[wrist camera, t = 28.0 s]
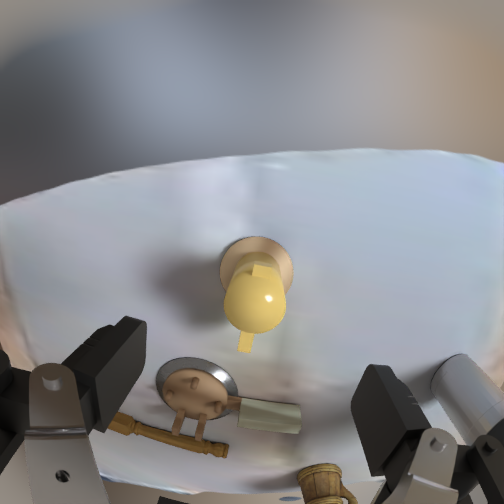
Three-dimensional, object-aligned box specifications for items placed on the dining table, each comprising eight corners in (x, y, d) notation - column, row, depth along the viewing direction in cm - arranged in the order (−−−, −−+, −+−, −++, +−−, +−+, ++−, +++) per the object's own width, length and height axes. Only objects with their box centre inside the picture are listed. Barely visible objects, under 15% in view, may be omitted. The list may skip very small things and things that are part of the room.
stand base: (245, 368, 40) (245, 369, 40) (230, 425, 43) (230, 426, 43) (158, 347, 40) (157, 348, 40) (156, 407, 43) (155, 408, 43)
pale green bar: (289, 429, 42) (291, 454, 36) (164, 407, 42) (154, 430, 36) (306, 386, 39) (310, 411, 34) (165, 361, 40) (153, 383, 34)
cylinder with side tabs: (240, 239, 35) (231, 260, 25) (286, 248, 35) (294, 272, 25) (226, 318, 38) (214, 361, 28) (268, 326, 38) (269, 371, 28)
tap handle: (225, 462, 42) (74, 413, 42) (227, 450, 45) (81, 404, 45) (227, 453, 41) (71, 403, 41) (229, 441, 44) (79, 394, 44)
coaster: (300, 245, 36) (301, 246, 35) (283, 311, 38) (283, 313, 37) (227, 229, 36) (227, 230, 35) (215, 297, 38) (214, 299, 37)
